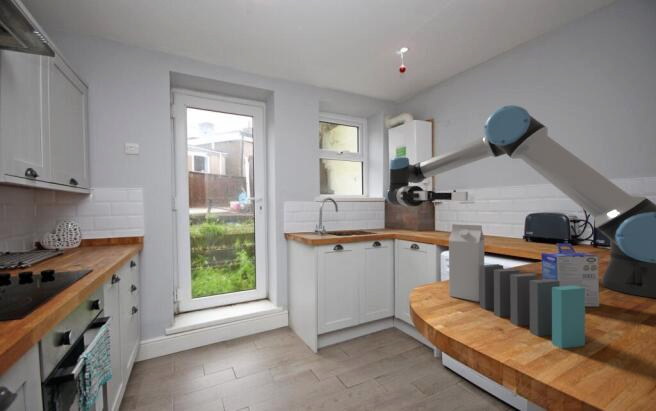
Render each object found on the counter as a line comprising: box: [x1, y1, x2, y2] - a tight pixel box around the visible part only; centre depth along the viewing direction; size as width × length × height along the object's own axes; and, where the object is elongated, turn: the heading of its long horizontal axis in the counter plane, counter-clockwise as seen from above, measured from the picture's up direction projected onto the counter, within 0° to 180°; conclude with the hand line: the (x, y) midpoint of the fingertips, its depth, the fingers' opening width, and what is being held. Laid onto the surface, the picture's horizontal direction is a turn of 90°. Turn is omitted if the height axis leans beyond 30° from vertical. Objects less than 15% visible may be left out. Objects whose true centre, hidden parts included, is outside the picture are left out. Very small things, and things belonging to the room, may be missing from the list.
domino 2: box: [493, 268, 520, 318], centre depth 60 cm, size 2×5×10 cm, turn 101°
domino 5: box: [551, 285, 586, 349], centre depth 47 cm, size 2×5×10 cm, turn 101°
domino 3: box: [510, 272, 539, 327], centre depth 56 cm, size 2×5×10 cm, turn 101°
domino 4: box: [529, 279, 560, 337], centre depth 52 cm, size 2×5×10 cm, turn 101°
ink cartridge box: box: [540, 242, 600, 307], centre depth 67 cm, size 10×6×14 cm, turn 89°
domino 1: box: [479, 263, 504, 310], centre depth 64 cm, size 2×5×10 cm, turn 101°
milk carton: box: [448, 223, 485, 303], centre depth 72 cm, size 7×7×19 cm
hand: (446, 195), depth 81 cm, fingers open, 13 cm apart
